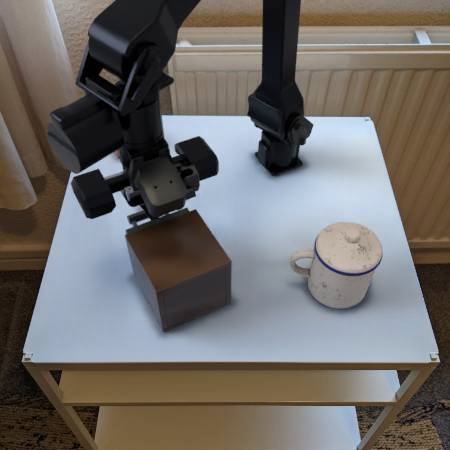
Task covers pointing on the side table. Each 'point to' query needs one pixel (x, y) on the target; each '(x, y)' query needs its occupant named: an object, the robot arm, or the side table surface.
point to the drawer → (142, 216)
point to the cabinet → (180, 269)
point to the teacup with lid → (340, 264)
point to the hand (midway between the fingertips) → (153, 220)
